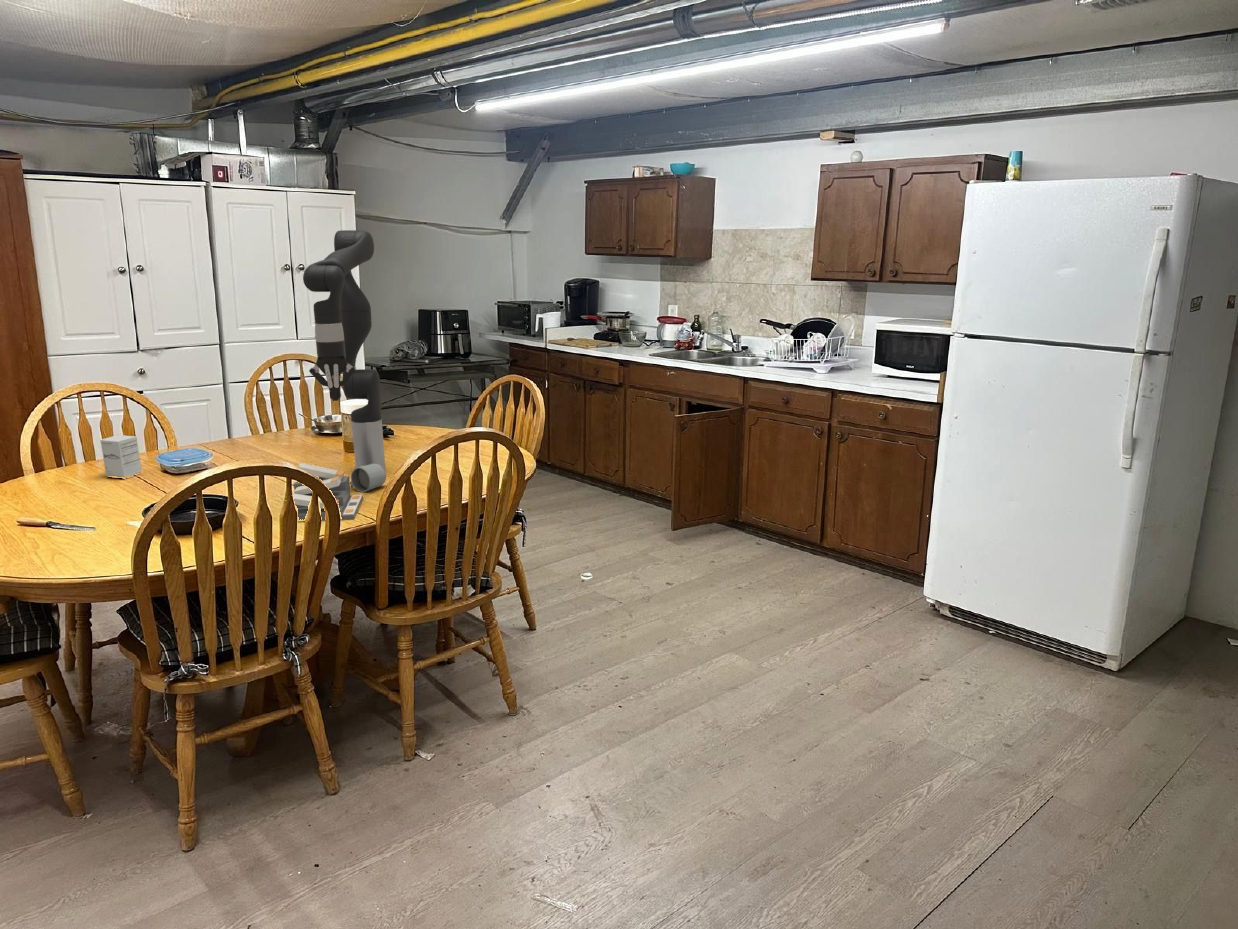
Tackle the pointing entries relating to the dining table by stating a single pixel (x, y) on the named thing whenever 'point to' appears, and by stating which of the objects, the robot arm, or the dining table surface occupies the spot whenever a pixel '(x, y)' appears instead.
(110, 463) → the supplement box
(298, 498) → the block
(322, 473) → the rear rocker
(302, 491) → the middle rocker
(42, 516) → the dining table surface
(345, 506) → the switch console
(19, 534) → the dining table surface
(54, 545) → the dining table surface
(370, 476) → the ceramic mug
